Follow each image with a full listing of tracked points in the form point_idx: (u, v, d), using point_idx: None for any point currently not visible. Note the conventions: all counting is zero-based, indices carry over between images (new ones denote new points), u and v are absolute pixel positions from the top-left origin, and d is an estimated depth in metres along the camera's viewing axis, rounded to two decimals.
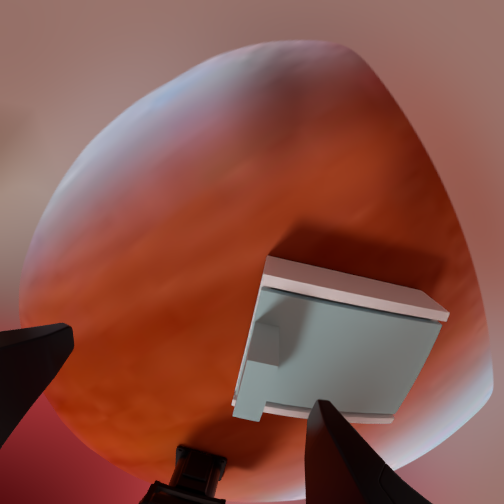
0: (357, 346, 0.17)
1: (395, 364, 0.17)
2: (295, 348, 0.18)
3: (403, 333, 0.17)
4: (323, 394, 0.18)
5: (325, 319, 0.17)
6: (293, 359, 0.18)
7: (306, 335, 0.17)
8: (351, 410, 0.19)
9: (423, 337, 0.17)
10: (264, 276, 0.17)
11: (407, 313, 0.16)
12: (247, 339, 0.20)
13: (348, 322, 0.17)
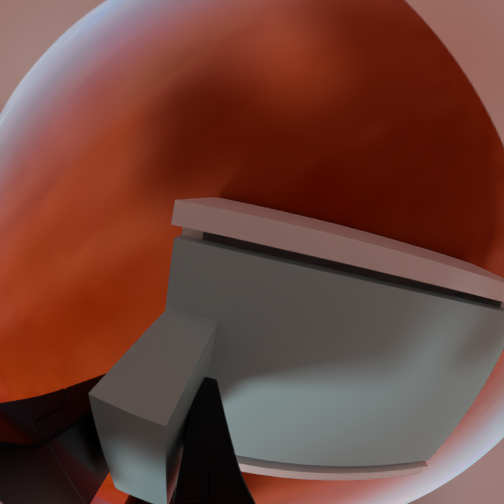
0: (383, 362, 0.08)
1: (444, 389, 0.08)
2: (255, 366, 0.09)
3: (464, 332, 0.08)
4: (314, 445, 0.09)
5: (317, 306, 0.08)
6: (252, 386, 0.09)
7: (276, 340, 0.08)
8: (362, 463, 0.09)
9: (492, 338, 0.08)
10: (177, 205, 0.07)
11: (476, 292, 0.07)
12: None
13: (366, 312, 0.08)
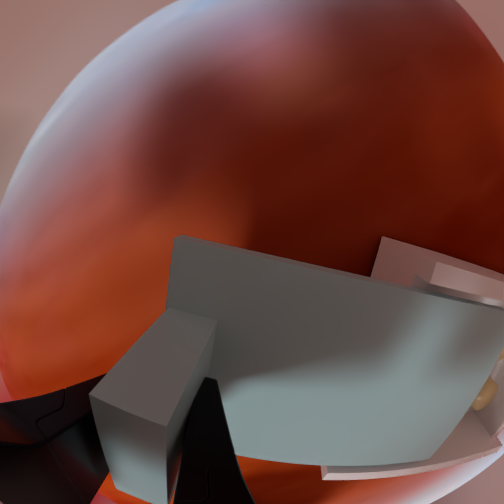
0: (383, 361, 0.08)
1: (444, 388, 0.08)
2: (255, 366, 0.09)
3: (464, 332, 0.08)
4: (314, 444, 0.09)
5: (317, 305, 0.08)
6: (252, 386, 0.09)
7: (277, 340, 0.08)
8: (362, 463, 0.09)
9: (492, 337, 0.08)
10: (438, 267, 0.07)
11: None
12: None
13: (366, 311, 0.08)
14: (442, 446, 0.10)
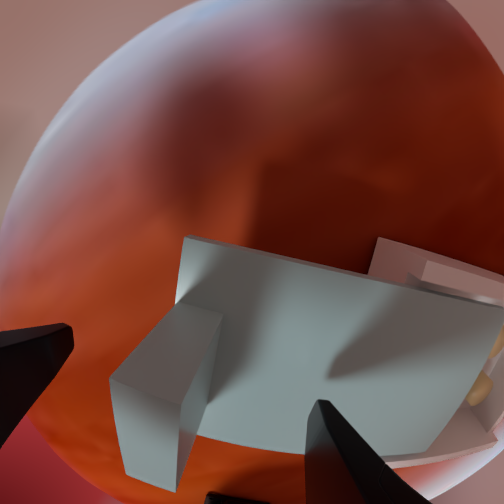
0: (377, 353, 0.09)
1: (437, 381, 0.09)
2: (258, 357, 0.09)
3: (455, 327, 0.08)
4: None
5: (315, 300, 0.09)
6: (255, 376, 0.09)
7: (278, 332, 0.09)
8: None
9: (483, 332, 0.08)
10: (428, 265, 0.08)
11: None
12: None
13: (361, 306, 0.09)
14: (438, 440, 0.11)
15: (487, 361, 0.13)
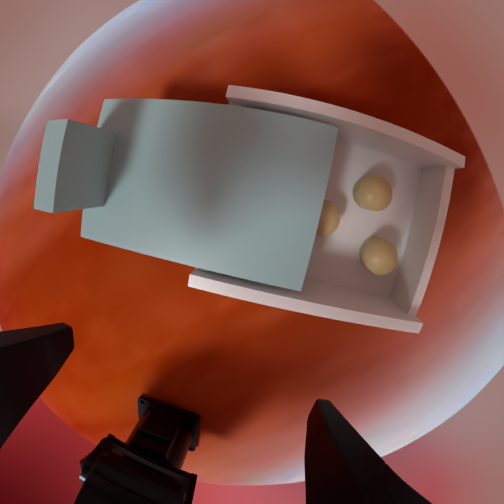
0: (204, 149, 0.14)
1: (271, 183, 0.14)
2: (131, 157, 0.14)
3: (271, 132, 0.13)
4: (172, 232, 0.15)
5: (161, 116, 0.13)
6: (130, 173, 0.14)
7: (142, 139, 0.14)
8: (219, 269, 0.15)
9: (309, 142, 0.13)
10: (229, 87, 0.13)
11: (412, 142, 0.12)
12: None
13: (188, 116, 0.13)
14: (330, 298, 0.16)
15: (391, 234, 0.18)
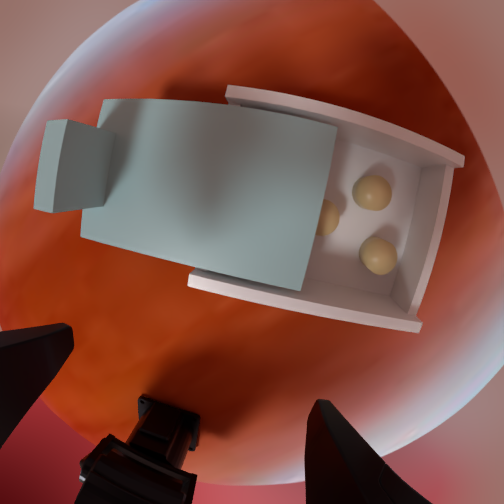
0: (204, 149, 0.14)
1: (271, 183, 0.14)
2: (131, 157, 0.14)
3: (270, 131, 0.13)
4: (171, 231, 0.15)
5: (161, 116, 0.13)
6: (130, 173, 0.14)
7: (142, 139, 0.14)
8: (219, 269, 0.15)
9: (309, 141, 0.13)
10: (229, 87, 0.13)
11: (412, 141, 0.12)
12: None
13: (187, 116, 0.13)
14: (330, 297, 0.16)
15: (391, 234, 0.18)
